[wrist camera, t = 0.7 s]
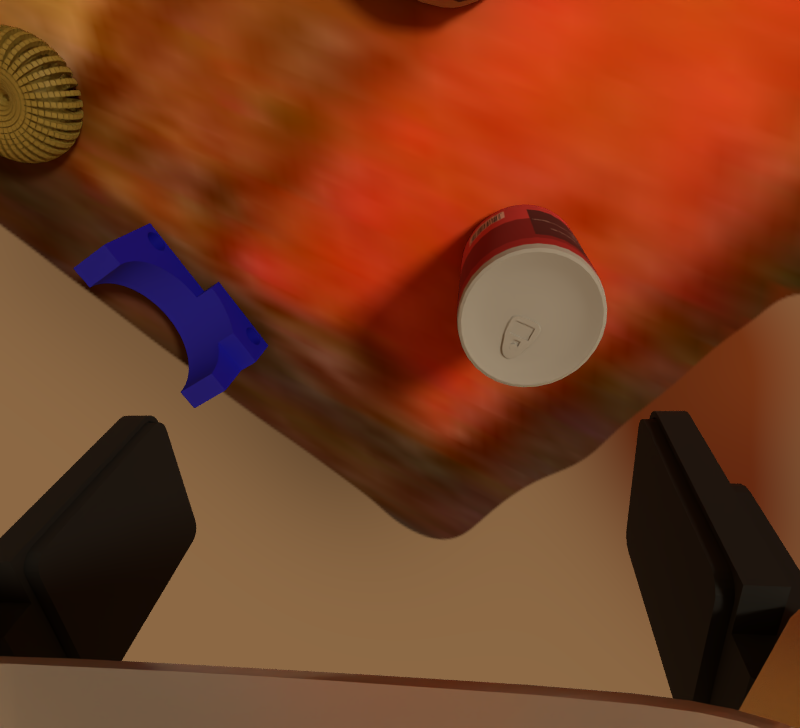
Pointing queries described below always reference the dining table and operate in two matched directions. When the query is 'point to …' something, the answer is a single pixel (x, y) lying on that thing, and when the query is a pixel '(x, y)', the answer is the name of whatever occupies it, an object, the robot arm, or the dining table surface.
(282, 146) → the dining table surface
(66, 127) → the sculpture
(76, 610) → the robot arm
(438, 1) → the donut
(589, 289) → the canned food
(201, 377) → the blue pipe cradle
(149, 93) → the dining table surface
